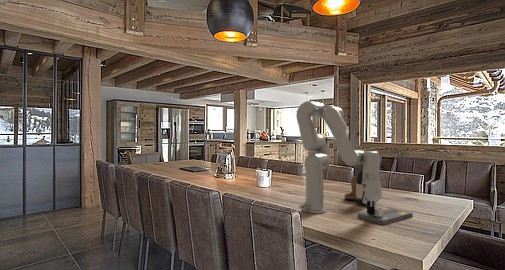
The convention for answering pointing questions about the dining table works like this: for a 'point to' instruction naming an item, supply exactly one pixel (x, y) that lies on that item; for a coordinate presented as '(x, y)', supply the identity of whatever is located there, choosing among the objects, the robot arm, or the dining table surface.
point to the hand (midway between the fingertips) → (370, 214)
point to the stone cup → (353, 194)
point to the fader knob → (379, 211)
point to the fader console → (386, 216)
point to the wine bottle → (359, 187)
